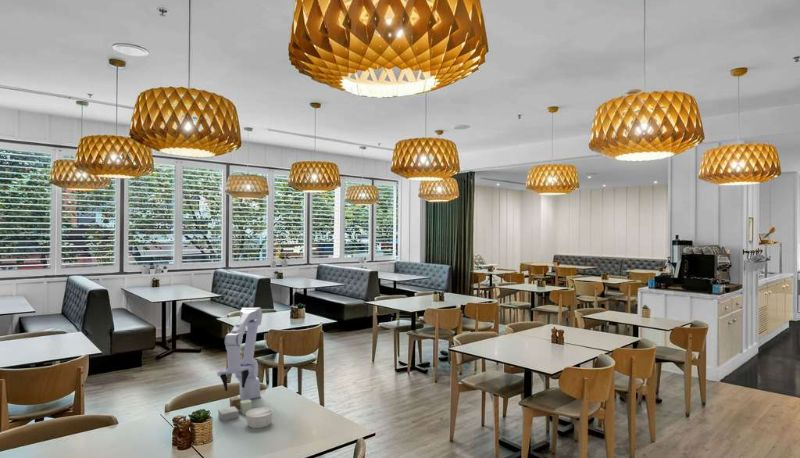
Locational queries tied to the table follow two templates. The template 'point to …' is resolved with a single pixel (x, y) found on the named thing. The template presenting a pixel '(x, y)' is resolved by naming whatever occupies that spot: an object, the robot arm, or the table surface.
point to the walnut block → (235, 402)
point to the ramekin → (259, 417)
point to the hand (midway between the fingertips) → (234, 388)
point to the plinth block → (228, 413)
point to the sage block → (245, 406)
